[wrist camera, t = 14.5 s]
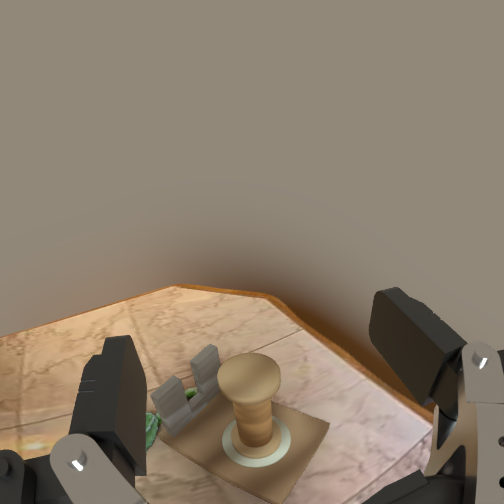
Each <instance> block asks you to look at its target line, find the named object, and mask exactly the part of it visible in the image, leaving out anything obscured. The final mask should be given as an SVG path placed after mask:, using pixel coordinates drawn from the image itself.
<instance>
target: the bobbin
mask: <svg viewBox="0 0 504 504" xmlns="http://www.w3.org/2000/svg"><path fill="white" fill-rule="evenodd" d="M217 379H218V384H219V388H220V391H221V393H222V394H223V396H224V397H225V398H227V399H228V400H229V401H231V402H233V407H234V413H235V418H236V424H235V425H234V427H233V429H232V431H231V440H232V444H233V447H234V449H235V450H236V451H237V452H238V453H239V454H240V455H242V456H244V457H246V458H250V459H261V458H265V457H268V456H270V455H271V454H273V453H274V452H275V451H276V450H277V449H278V448H279V446H280V443H281V430H280V427H279V426H278V424H277V423H276V422H275V421H274V420H272V408H271V398H272V397H273V396H274V395H275V394H276V393H277V391H278V390H279V387H280V383H281V374H280V368H279V366H278V364H277V363H276V362H275V361H274V360H273V359H272V358H270V357H268V356H266V355H263V354H259V353H244V354H239V355H236V356H233V357H231V358H229V359H228V360H226V361H225V362H224V363H223V364H222V365H221V367H220V368H219V370H218V374H217Z"/></svg>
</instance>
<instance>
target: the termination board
mask: <svg viewBox="0 0 504 504" xmlns="http://www.w3.org/2000/svg"><path fill="white" fill-rule="evenodd" d="M190 364H191V368H192V371H193V375H194V379H195V383H196V386H197V390H198V393H197V394H196V395H195V396H194V397H192V398H191V399H190V400H189V401H188V400H187V397H186V394H185V391H184V388H183V385H182V382H181V379H179V378H177V377H176V376H174V375H173V376H172V377H171V378H170V379H169V380H168V381H166V382H165V383H164V384H163V385H162V386H161V387H159V388H158V389H157V390H156V391H155V392H154V393H152V394H151V395H150V396H151V398H152V400H153V403H154V405H155V407H156V409H157V411H158V414H159V416H160V418H161V420H162V422H163V424H164V426H165V428H164V429H163V430H162V431H161V432H159V433H158V436H159V437H160V439H161V440H162V441H163V442H165V443H166V444H167V445H169V446H170V447H172V448H173V449H175V450H176V451H178V452H179V453H181V454H182V455H184V456H185V457H187V458H189V459H190V460H192V461H193V462H195V463H197V464H198V465H200V466H201V467H203V468H205V469H206V470H208V471H210V472H212V473H213V474H215V475H217V476H219V477H220V478H222V479H224V480H226V481H227V482H229V483H231V484H233V485H235V486H237V487H239V488H241V489H243V490H244V491H246V492H248V493H250V494H252V495H254V496H257V497H259V498H261V499H263V500H265V501H267V502H269V503H271V504H282V503H283V501H284V500H285V498H286V497H287V495H288V494H289V493H290V491H291V490H292V488H293V487H294V485H295V484H296V482H297V481H298V479H299V477H300V476H301V474H302V473H303V471H304V470H305V468H306V467H307V465H308V463H309V462H310V460H311V458H312V457H313V455H314V454H315V452H316V450H317V449H318V447H319V445H320V443H321V442H322V440H323V438H324V437H325V435H326V433H327V431H328V429H329V425H330V423H328V422H325V421H322V420H319V419H316V418H314V417H311V416H308V415H305V414H303V413H300V412H297V411H295V410H292V409H289V408H287V407H284V406H282V405H279V404H277V403H274V402H272V401H271V408H272V420H274V421H275V422H276V423H277V424H278V426H279V427H280V430H281V443H280V446H279V448H278V449H277V450H276V451H275V452H274V453H273V454H271V455H270V456H268V457H265V458H261V459H250V458H246V457H244V456H242V455H240V454H239V453H238V452H237V451H236V450H235V449H234V447H233V444H232V440H231V431H232V429H233V427H234V425H235V424H236V418H235V413H234V407H233V402H231V401H229V400H228V399H227V398H225V397H224V396H223V394H222V393H221V391H220V388H219V384H218V379H217V374H218V370H219V368H220V367H221V366H220V361H219V355H218V349H217V347H216V346H214V345H212V344H209V345H208V346H207V347H206V348H204V349H203V350H202V351H201V352H200V353H199V354H198V355H196V356H195V357H194V358H193V359H192V360H191V361H190Z"/></svg>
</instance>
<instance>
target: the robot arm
mask: <svg viewBox="0 0 504 504" xmlns="http://www.w3.org/2000/svg"><path fill="white" fill-rule="evenodd" d="M369 335H370V339H371V342H372V344H373V345H374V346H375V347H376V349H377V350H378V351H379V353H380V354H381V355H382V356H383V358H384V359H385V360H386V361H387V363H388V364H389V365H390V366H391V368H392V369H393V370H394V371H395V373H396V374H397V375H398V377H399V378H400V379H401V380H402V382H403V383H404V384H405V386H406V387H407V388H408V389H409V391H410V392H411V393H412V395H413V396H414V397H415V399H416V400H417V401H418V403H419V404H420V405H421V406H422V407H423V406H425V405H427V404H429V403H431V402H433V401H434V402H435V403H436V404H437V405H436V407H435V410H434V421H433V435H432V446H431V455H430V459H429V462H428V464H427V466H426V469H425V471H424V474H422V472H421V470H420V469H419V470H417V471H416V472H414V473H412V474H410V475H408V476H406V477H404V478H402V479H400V480H398V481H396V482H394V483H392V484H389V485H387V486H385V487H384V488H382V489H381V490H380V491H378V492H377V493H376V494H374V495H373V496H372V497H370V498H369V499H368V500H366V501H365V502H363V503H362V504H504V350H500V351H496V350H495V349H494V348H492V347H491V346H489V345H487V344H485V343H482V342H471V343H469V344H468V343H467V342H466V341H465V340H463V339H462V338H461V337H460V336H459V335H458V334H457V333H456V332H455V331H454V330H453V329H451V327H449V326H448V325H447V324H446V323H445V322H444V321H442V320H440V318H439V317H438V316H437V315H436V314H435V313H434V314H433V312H432V310H430V309H429V308H428V307H427V306H426V305H424V303H422V302H419V301H417V300H415V299H413V298H411V297H409V296H408V295H406V294H405V293H404V292H403V291H402V290H401V289H400V288H398V287H393V288H389V289H386V290H381V291H378V292H376V294H375V296H374V300H373V307H372V313H371V319H370V324H369ZM78 391H79V393H78V394H77V398H76V402H75V407H74V411H73V416H72V420H71V425H70V430H69V434H68V435H67V436H65V437H63V438H61V439H60V440H59V441H58V442H57V443H56V444H55V445H54V446H53V448H52V450H51V453H50V454H49V455H45V456H41V457H37V458H32V459H28V460H23V459H22V458H21V457H20V456H19V455H18V454H17V453H16V452H14V451H12V450H1V451H0V504H149V503H148V502H147V501H146V500H145V499H144V498H143V497H142V496H141V495H140V493H139V492H138V491H137V490H136V489H135V476H147V474H146V400H147V384H146V377H145V373H144V370H143V367H142V365H141V362H140V360H139V357H138V354H137V351H136V349H135V346H134V343H133V340H132V338H131V336H130V335H124V336H115V337H107V338H106V339H105V342H104V346H103V350H102V354H100V355H93V356H92V357H91V359H90V360H89V361H88V363H87V364H86V365H85V367H84V370H83V374H82V377H81V382H80V385H79V389H78Z"/></svg>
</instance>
